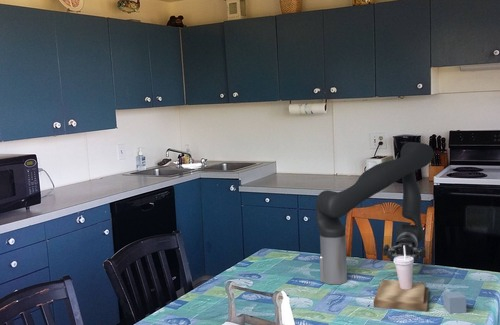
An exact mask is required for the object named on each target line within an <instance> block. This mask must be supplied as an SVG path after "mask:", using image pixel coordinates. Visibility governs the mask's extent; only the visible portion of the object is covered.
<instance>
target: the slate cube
mask: <svg viewBox="0 0 500 325" xmlns="http://www.w3.org/2000/svg"><path fill="white" fill-rule="evenodd" d="M442 293H443V294H442V296H443V298H442V299H443V308H444V310H445V311H446V310H447V311H448V312H449V313H450V314H449V313H448V312H447V313H448V314H449V315H451V314H452V315H453V313H457V314H467V296H466V295H464V294H463V293H462V292H461V291H459V290H457V291H445V292H442Z"/></svg>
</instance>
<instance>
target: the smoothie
mask: <svg viewBox="0 0 500 325" xmlns="http://www.w3.org/2000/svg"><path fill="white" fill-rule="evenodd" d="M403 248H404V256H396V257H395V256H394V257H393V263H394V266H395V270H396V275H397V279H398V280H397V281H399V284H400V288H401V289H405V290H407V289H411V288H412V282H413V276H414V275H413V271H414V270H413V269H414V262H415V257H414V258H413V257H410V256H406V251H405V245H404V246H403Z"/></svg>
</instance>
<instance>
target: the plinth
mask: <svg viewBox="0 0 500 325" xmlns="http://www.w3.org/2000/svg"><path fill="white" fill-rule="evenodd" d="M429 292H430V291H429V286H428V287H427V286H426V282H424V281H412V288H411V289H407V290H405V289H401V288H400V284H399V280H395V279H394V280H393V279H381V282H380V283H379V284H378V288H377V290H376V292H375V296H374V299H373V308H377V309H378V308H380V309H390V310H391V309H392V310H401V311H402V310H404V311H405V310H406V311H415V312H417V311H418V312H425V313H426V312H428V303H429V294H430V293H429Z"/></svg>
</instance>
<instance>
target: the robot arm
mask: <svg viewBox="0 0 500 325" xmlns="http://www.w3.org/2000/svg"><path fill="white" fill-rule="evenodd" d="M433 157H434V150H433V148H432V146H430V145H429V144H426V143H422V142H413V141H408V142H406V143H404V144H403V145H402V147H401V150H400V157H398V158H395V159H391V160H387V161H383V162H380V163H377V164H376V165H374V166H372V167H370V168H368V169H367V170H365V171H363V172H362V173H361V175H360V176H359V177H358V179H357V181H355V183H354V184H353V185H351V186H350V187H347V188H345V189H343V190H341V191H332V190H328V189H327V190H323V191H321V192H320V193H319V194H318V196H317V197H316V202H315V212H316V213H315V214H316V224H317V228H318V230H319V240H320V242H319V244H320V256H319V277H320V278H319V279H320V283H324V284H327V285H328V284H329V285H341V284H345V283H347V282H348V271H347V270H348V268H347V267H348V266H347V244H346V243H347V240H346V239H347V238H346V228H345V226H344V225H343V223H342V222H341V220H340V218H342V217H344V216H346V215H347V214H348V213H349V212H351V211H352V210H353V209H354V208H356V207H357V206H359V205H360V204H361V203H362V202H364V201H366V200H368V199H370V198H371V197H373V196H375V195H376V194H378V193H380V192H382V191H383V190H385V189H387V188H388V187H390V186H391V185H393V184H394V183H396V182H397V181H400V180H401V181H402V208H401V217H403V218H404V219H407V220H410V221H412V222H413V223H414V224H410V223H400V224H398V225H397V227H396V230H395V236H396V241H395V243H394V244H395V245H393V246H390V245H389V244H385V245H384V246H383V249H382V256H384V257H387V259H388V260H392V258H393V257H394V258H395V257H398V256H404V248H403V246H404V245H405V251H406V256H410V257H413V258H414V262H415V261H416V262H417V261H418V260H420V258H423V259H425V258H427V257H426V255H427V254H426V253H427V252H426V250H427V248H426V246H424V245H423V246H421V247H418V244H420V243H421V242H422V241H423V240H424V237H425V235H424V234H425V233H424V229H423V225H422V218H421V217H422V216H421V214H422V213H421V211H422V210H421V209H422V195H421V191H420V188H419V185H418V181H417V179H416V178H417V177H416V171H418V170H420V169H423V168H425V167H427V166H428V165H429V164H430V163H431V162H432V160H433Z"/></svg>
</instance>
